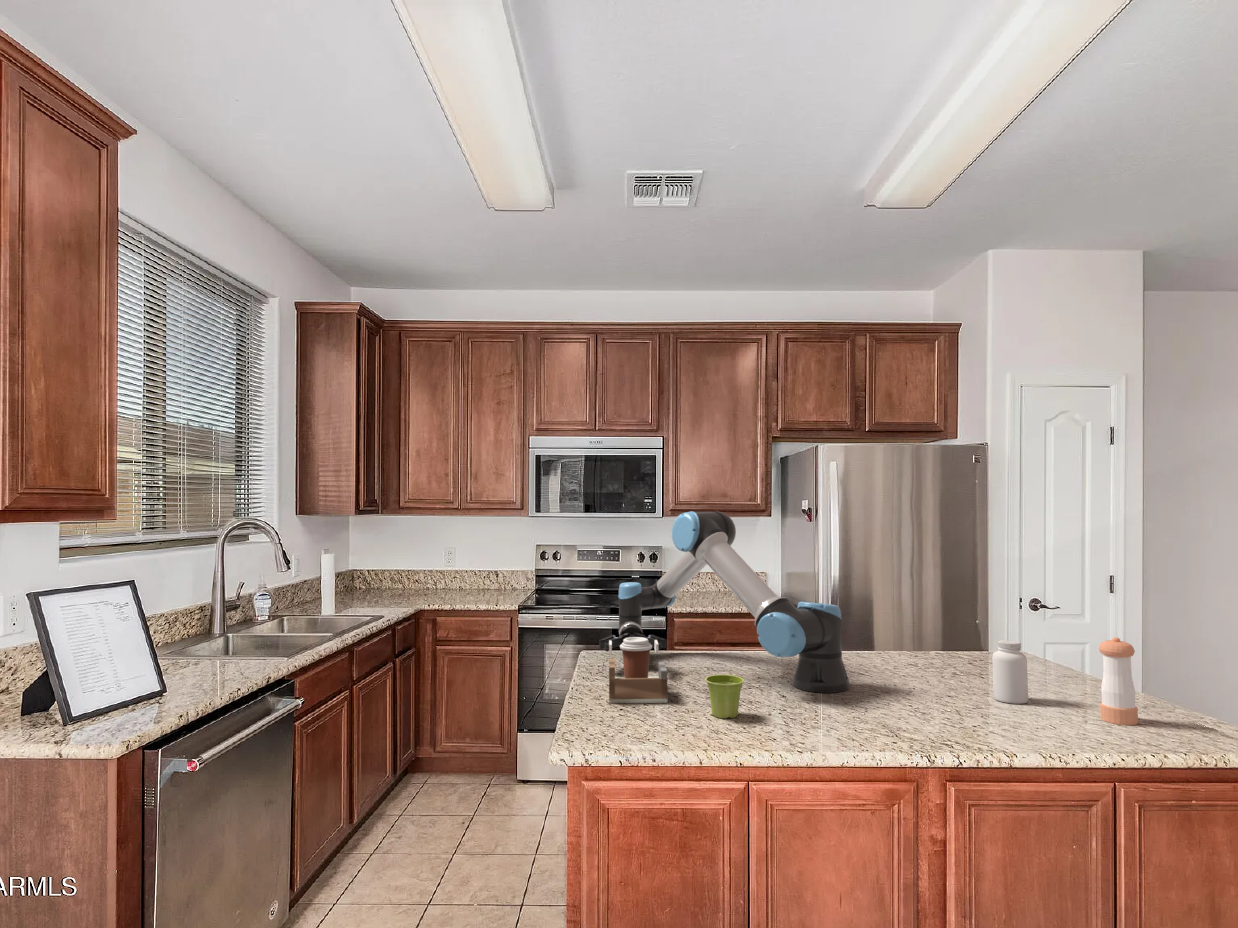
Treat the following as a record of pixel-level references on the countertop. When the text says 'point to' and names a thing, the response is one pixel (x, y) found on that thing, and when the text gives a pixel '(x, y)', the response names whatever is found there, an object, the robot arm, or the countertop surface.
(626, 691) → the shelf
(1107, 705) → the pepper shaker
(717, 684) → the plant pot
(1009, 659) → the pill bottle
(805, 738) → the countertop surface
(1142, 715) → the countertop surface
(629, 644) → the coffee cup
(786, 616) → the robot arm
